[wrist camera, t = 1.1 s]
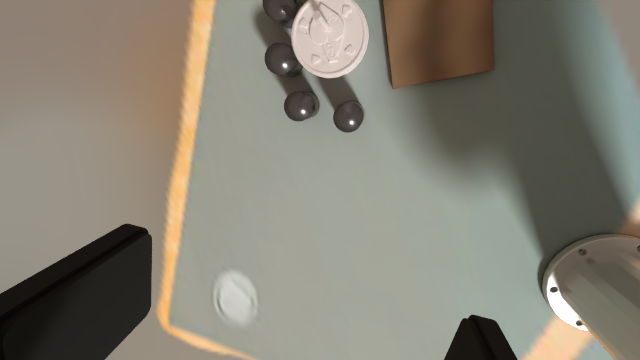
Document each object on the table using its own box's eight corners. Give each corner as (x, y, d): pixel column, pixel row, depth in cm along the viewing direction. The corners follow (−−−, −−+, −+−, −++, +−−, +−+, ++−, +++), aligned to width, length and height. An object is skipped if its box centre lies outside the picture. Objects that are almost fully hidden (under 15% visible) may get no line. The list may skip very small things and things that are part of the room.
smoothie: (364, 11, 32) (356, -46, 18) (375, 73, 33) (374, 61, 20) (307, 28, 33) (262, -14, 20) (320, 87, 35) (285, 84, 22)
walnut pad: (486, -38, 29) (490, -43, 28) (490, 70, 31) (494, 69, 30) (381, -11, 31) (381, -14, 30) (392, 88, 33) (393, 88, 32)
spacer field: (342, -39, 31) (337, -60, 27) (365, 125, 35) (364, 129, 31) (262, -16, 33) (245, -32, 29) (293, 137, 37) (282, 143, 33)
